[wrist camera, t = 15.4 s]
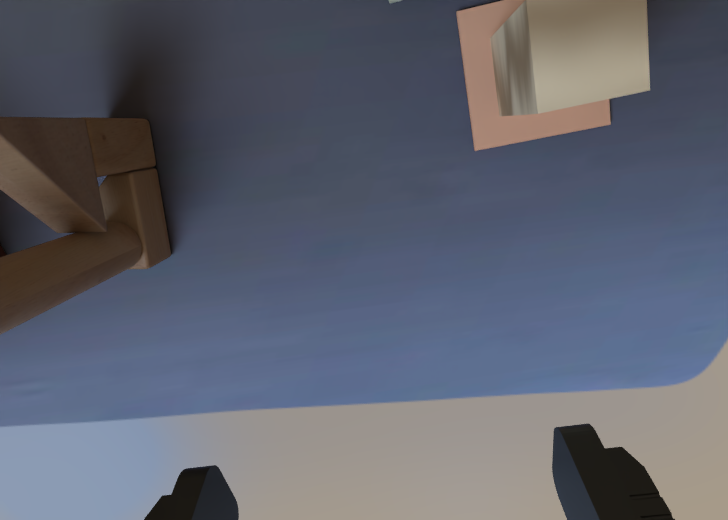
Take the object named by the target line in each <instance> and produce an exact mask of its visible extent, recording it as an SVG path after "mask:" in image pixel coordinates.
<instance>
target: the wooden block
mask: <svg viewBox="0 0 728 520" xmlns="http://www.w3.org/2000/svg"><path fill="white" fill-rule="evenodd" d="M155 165H156V160H155V154H154V148H153V142H152V136H151V130H150V124H149V121H148V120H146V119H144V118H45V117H0V190H2V191H3V192H4V193H6V194H7V195H8V196H10V197H11V198H12V199H14V200H15V201H16V202H17V203H19V204H20V205H21V206H23V207H24V208H25V209H27V210H28V211H29V212H30V213H32V214H33V215H34V216H36V217H37V218H38V219H40V220H41V221H42V222H44V223H45V224H46V225H47V226H49V227H50V228H51V229H53V230H54V231H55V232H57V233H73V234H70V235H67V236H64V237H61V238H58V239H55V240H52V241H49V242H46V243H43V244H40V245H37V246H34V247H31V248H28V249H24V250H21V251H18V252H15V253H12V254H9V255H6V256H3V257H0V334H2V333H4V332H6V331H8V330H10V329H12V328H14V327H16V326H18V325H20V324H22V323H24V322H26V321H28V320H30V319H31V318H33V317H35V316H37V315H39V314H41V313H43V312H45V311H47V310H49V309H51V308H53V307H55V306H57V305H59V304H61V303H63V302H65V301H66V300H68V299H70V298H72V297H74V296H76V295H78V294H80V293H82V292H84V291H86V290H88V289H90V288H92V287H94V286H96V285H98V284H100V283H101V282H103V281H105V280H107V279H109V278H111V277H113V276H115V275H117V274H119V273H121V272H123V271H125V270H127V269H148V268H150V267H152V266H154V265H156V264H158V263H159V262H161V261H163V260H165V259H167V258H168V257H170V256H171V250H170V244H169V238H168V233H167V227H166V221H165V215H164V209H163V203H162V197H161V191H160V185H159V179H158V173H157V170H156V169H155V168H152V167H154V166H155ZM106 175H107V177H106V178H105V180H104V181H103V182H102V184H101V185H100V187H99V186H98V181H97V177H100V176H106Z"/></svg>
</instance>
